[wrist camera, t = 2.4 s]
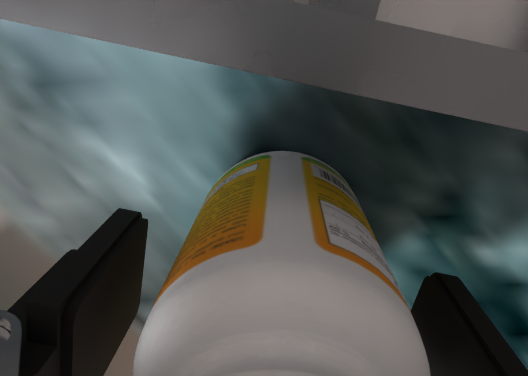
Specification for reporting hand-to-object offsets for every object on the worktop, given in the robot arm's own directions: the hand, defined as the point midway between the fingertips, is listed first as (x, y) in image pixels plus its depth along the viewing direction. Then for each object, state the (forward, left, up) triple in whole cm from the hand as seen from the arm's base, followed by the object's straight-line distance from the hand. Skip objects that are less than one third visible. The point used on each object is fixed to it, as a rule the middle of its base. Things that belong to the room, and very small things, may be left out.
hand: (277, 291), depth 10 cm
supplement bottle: (0, 0, -4) cm, 4 cm away
